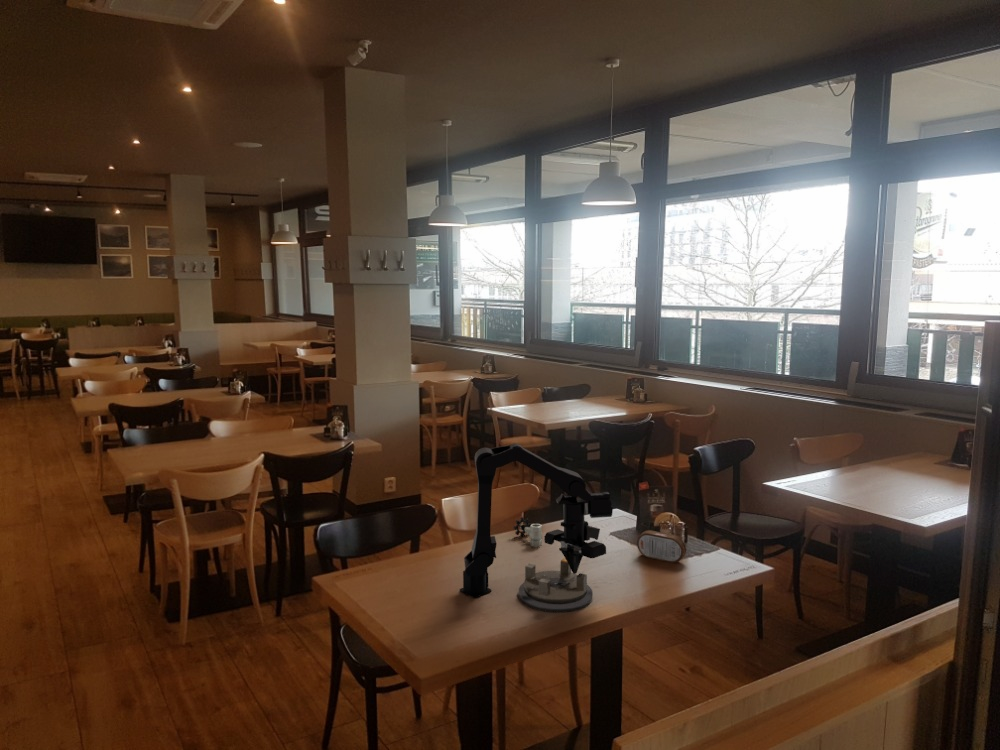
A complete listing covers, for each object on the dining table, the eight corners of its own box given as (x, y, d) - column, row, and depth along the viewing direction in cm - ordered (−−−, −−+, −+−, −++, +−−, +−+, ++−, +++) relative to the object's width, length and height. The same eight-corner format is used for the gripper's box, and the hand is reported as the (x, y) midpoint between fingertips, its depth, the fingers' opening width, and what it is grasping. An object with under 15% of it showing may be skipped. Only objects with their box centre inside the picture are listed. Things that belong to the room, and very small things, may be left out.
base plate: (558, 619, 175) (558, 611, 175) (503, 595, 189) (503, 587, 189) (607, 596, 188) (607, 588, 188) (552, 574, 203) (552, 567, 203)
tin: (686, 562, 212) (686, 536, 211) (682, 566, 209) (683, 539, 208) (639, 553, 220) (639, 527, 219) (635, 556, 217) (636, 530, 216)
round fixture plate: (573, 608, 177) (573, 587, 177) (513, 595, 185) (513, 575, 184) (595, 584, 192) (595, 564, 192) (539, 573, 200) (539, 553, 199)
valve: (547, 545, 227) (530, 534, 238) (547, 525, 227) (530, 515, 237) (530, 548, 224) (513, 537, 235) (530, 528, 224) (513, 518, 234)
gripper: (619, 519, 190) (619, 575, 191) (570, 506, 204) (571, 557, 205) (591, 528, 182) (592, 585, 184) (542, 513, 197) (543, 567, 198)
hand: (574, 573), depth 193 cm, fingers closed
